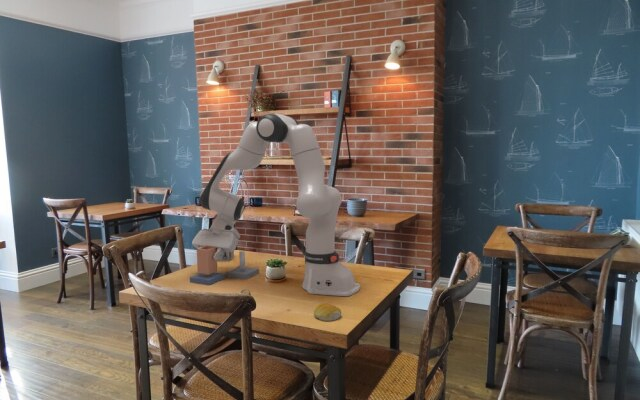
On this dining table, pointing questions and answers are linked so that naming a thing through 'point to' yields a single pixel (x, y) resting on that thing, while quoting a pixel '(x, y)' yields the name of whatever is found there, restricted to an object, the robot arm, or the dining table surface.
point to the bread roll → (327, 312)
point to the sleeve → (206, 260)
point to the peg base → (207, 278)
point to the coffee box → (225, 256)
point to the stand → (242, 269)
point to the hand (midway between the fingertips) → (206, 258)
